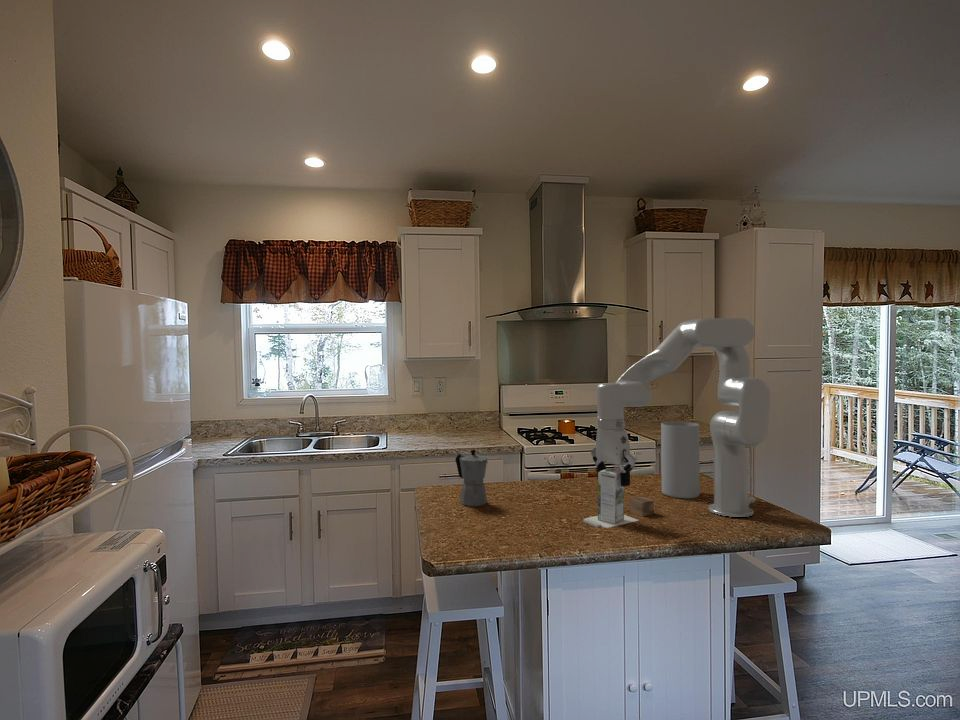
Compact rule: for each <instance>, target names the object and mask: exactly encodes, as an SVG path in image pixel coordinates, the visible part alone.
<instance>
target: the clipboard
mask: <svg viewBox="0 0 960 720" xmlns="http://www.w3.org/2000/svg"><path fill="white" fill-rule="evenodd" d="M638 521H640V519H637V518H634V517H631V516H628V515H626V514H624V519H623V520H621V521H619V522H618V523H616V524H614V523H609V522H605V521H600V520H598V515H596V516H590V517H586V518H583V520H582V522H584V523H586V524H588V525H591V526H594V527H595V528H599V527H600V528H601V527H603V528H606V529H608V528H612V527H617V526H622V525H626V524H630V523H631V524H632V523H634V522H635V523H636V522H638Z"/></svg>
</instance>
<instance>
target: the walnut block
mask: <svg viewBox="0 0 960 720" xmlns="http://www.w3.org/2000/svg"><path fill="white" fill-rule="evenodd" d="M629 513H632V514H634V515H637V516H640V517H646V516H650V515H654V514H655V500H654V499H650V498H648V497H644V496H637V497H633V498H629Z"/></svg>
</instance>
